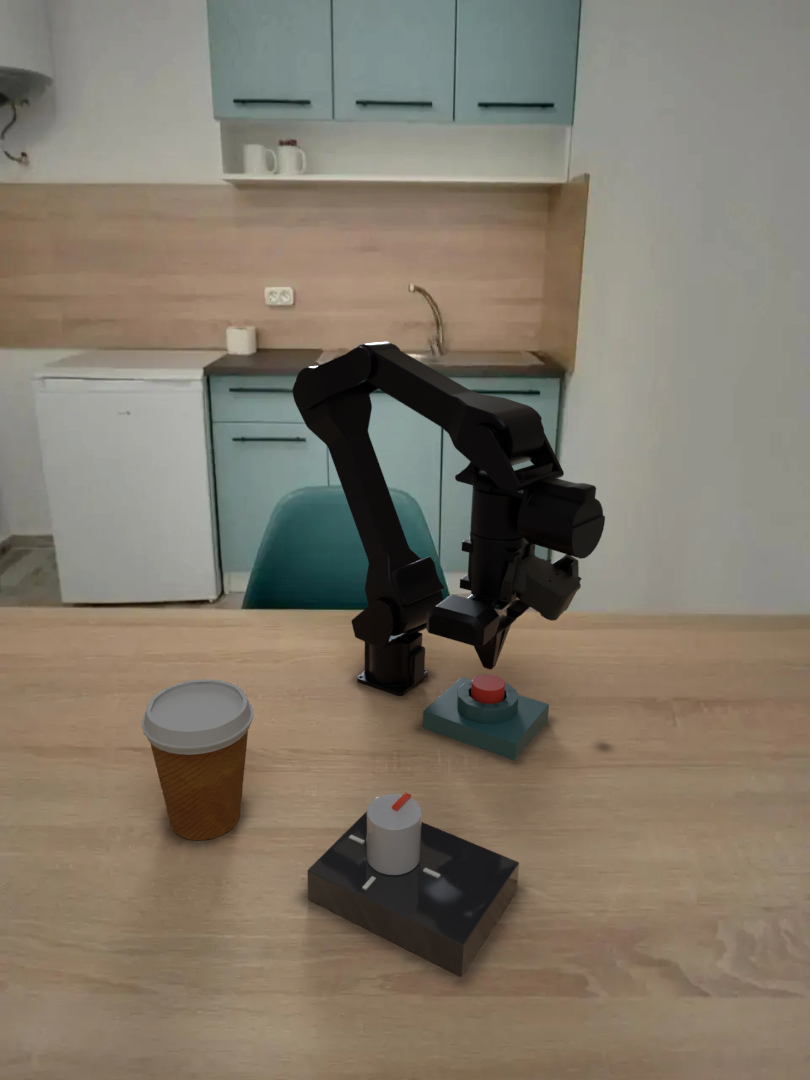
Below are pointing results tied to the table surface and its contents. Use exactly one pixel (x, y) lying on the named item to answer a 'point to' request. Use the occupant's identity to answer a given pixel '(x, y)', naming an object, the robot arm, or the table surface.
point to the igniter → (486, 719)
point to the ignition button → (488, 689)
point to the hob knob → (393, 834)
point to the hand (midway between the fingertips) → (489, 667)
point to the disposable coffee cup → (200, 753)
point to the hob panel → (419, 893)
